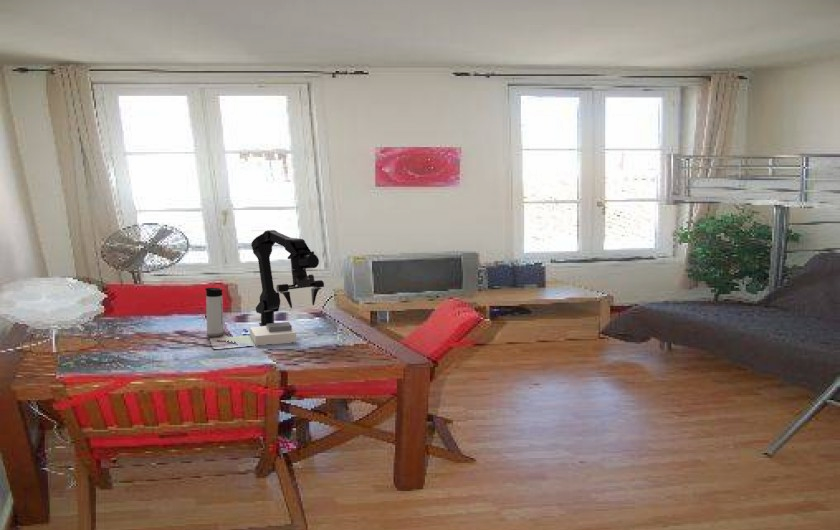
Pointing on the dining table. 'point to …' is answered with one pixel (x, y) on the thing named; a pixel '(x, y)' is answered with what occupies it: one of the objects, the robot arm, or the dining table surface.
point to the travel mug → (214, 311)
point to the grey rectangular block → (278, 327)
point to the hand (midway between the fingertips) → (302, 306)
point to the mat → (236, 339)
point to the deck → (271, 336)
